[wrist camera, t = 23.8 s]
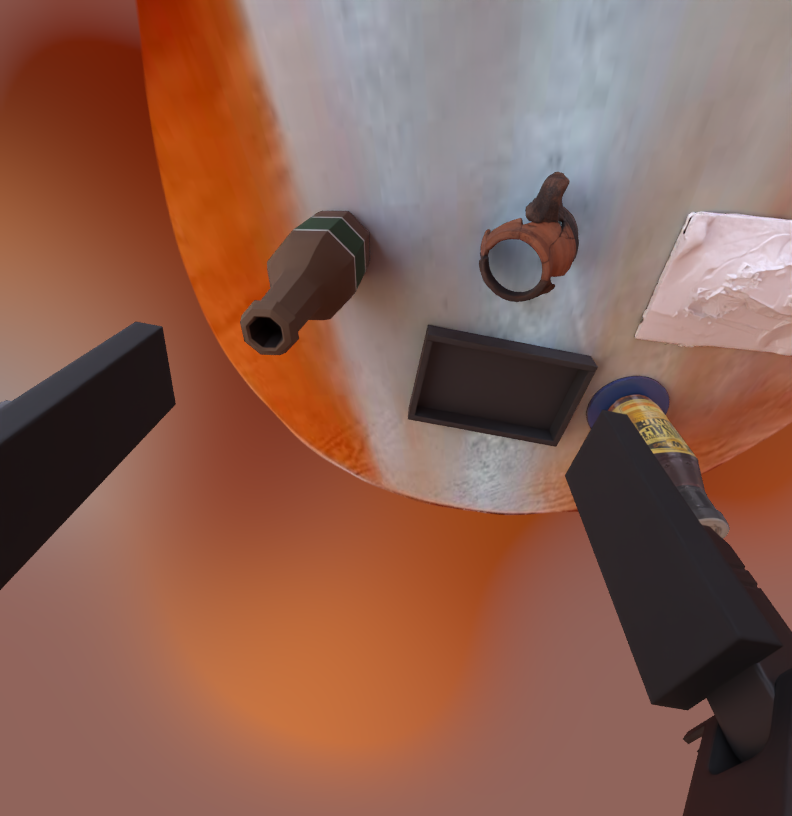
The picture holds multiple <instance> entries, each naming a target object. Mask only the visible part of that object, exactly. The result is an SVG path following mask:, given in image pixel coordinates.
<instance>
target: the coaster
mask: <svg viewBox="0 0 792 816" xmlns="http://www.w3.org/2000/svg"><path fill="white" fill-rule="evenodd" d="M638 394H640V395H644V396H646V397H648V398H649V399H651V400H652V401H653V402H654V403H655V404H657V405H658V406H659V407H660V409H661V410H662V411H663V413H664V414H665V415H666V413H667V411H668V408H669V396H668V393H667V391H666V389H665V388H664V387H663V386H662V385H661V384H660V383H659V382H657V381H656V380H654V379H651V378H648V377H642V376H631V377H625V378H621V379H618V380H615V381H613V382H611V383H609V384H607V385H606V386H604V387H603V388H602V389H600V390H599V391H598V392H597V393H596V394H595V395H594V396H593V398H592V399H591V401H590V403H589V405H588V408H587V413H586V416H587V422H588V424H589V426H590V428H591V429H592V427H593V425H594V423H595V422H596V420H597V418H598V416H599V415H600V413H601V411H602V410H606V411H608V409H609V408H610V406H611V405H612V404H613V403H615V401H616V400H618V399H619V398H621V397H624V396H629V395H638Z"/></svg>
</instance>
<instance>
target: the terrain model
mask: <svg viewBox="0 0 792 816" xmlns="http://www.w3.org/2000/svg"><path fill="white" fill-rule="evenodd" d="M692 215H693V216H692ZM691 216H692V218H691V220H690V222H689V224H688V220H689V218H690V217H691ZM687 224H688V226H687ZM686 226H687V229H686V232H685V234H683V231H684V230H685V228H686ZM650 299H651V300H650V303H649V305H648V308H647V310H644V314H643V316H642V318H643V317H644V320H643V322H642V323H641V324H639V326H638V329H637V331H636V334H635V336H634V337H635V338H636V339H642V340H651V341H656V342H658V341H660V342H666V344H669V343H672V344H677V345H679V346H680V347H681V346H683V347H684V345H685V346H687V347H694V346H701V347H702V346H714V347H723V348H734V349H743V350H754V351H765V352H774V353H777V354H781V355H788V356H791V355H792V220H785V219H777V218H770V217H769V218H768V217H757V216H750V215H742V214H730V213H728V214H726V215H725V214H720V213H714V212H713V213H712V212H710V213H707V212H698V213H694V212H692V213H691V214H689V215H688V217H687V219H686V222H685V224H684V225H683V228H682V231H681V232H680V235H679V237H678V239H677V241H676V243H675V245H674V248H673V250H672V252H671V255H670V257H669V259H668V261H667V263H666V265H665V269H664V270H663V272H662V274H661V276H660V278H659V281H658V284H657V286H656V287H655V290H654V294H653V295H652V297H651V298H650ZM640 322H641V321H640ZM666 344H665V345H666ZM679 346H678V347H679ZM786 360H787V359H786Z"/></svg>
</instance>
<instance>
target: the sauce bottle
mask: <svg viewBox="0 0 792 816" xmlns="http://www.w3.org/2000/svg"><path fill="white" fill-rule="evenodd" d="M608 411H612V412H617V413H622V414H627V415H628V417H629V418H630V420H631V421H632V423H633V424H634V425H635V427H636V428H637V430H638V431H639V433H640V434H641V436H642V437H643V439H644V440H645V442H646V443H647V445H648V446H649V448H650V449H651V451H652V452H653V454H654V455H655V457H656V458H657V459H658V461H659V462H660V464H661V465H662V467H663V468H664V470H665V471H666V473H667V474H668V476H669V477H670V479H671V480H672V482H673V483H674V485H675V486H676V488H677V489H678V490H679V492H680V493H681V495H682V496H683V498H684V499H685V501H686V502H687V504H688V505H689V507H690V508H691V510H692V511H693V513H694V514H695V516H696V517H697V519H698V520H699V521H700V523H701V524H702V525H706V526H710V527H711V528H712V529H713V530H714V531H715V532H716V533H717V534H718V535H719V536H720V537H722V538H724V537H725V536H727V534H728V532H729V525H728V523H727V521H726V519H725V518H724V517H723V514H722V513H721V512H719V511H718V510H716V509H715V507H714V506H713V504H712V503H711V501H710V500H709V499H708V497H707V494H706V493H705V490H704V485H703V481H702V477H701V472H700V468H699V464H698V459H697V458H696V456H695V455H694V453H693V452H692V451H691V449H690V448H689V447H688V445H687V444H686V443H685V441H684V440H683V438H682V437H681V436H680V435H679V433H678V432H677V430H676V429H675V428H674V426H673V425H672V424H671V422H670V421H669V420H668V418H667V417H666V416H665V414H664V413H663V411H662V410H661V409H660V407H659V406H658V405H657V404H655V403H654V402H653V401H652V400H651V399H649V398H648V397H646V396H644V395H640V394H638V395H629V396H624V397H621V398H619V399H618V400H616V401H615V403H613V404H612V405H611V406H610V408H609V409H608Z"/></svg>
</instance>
